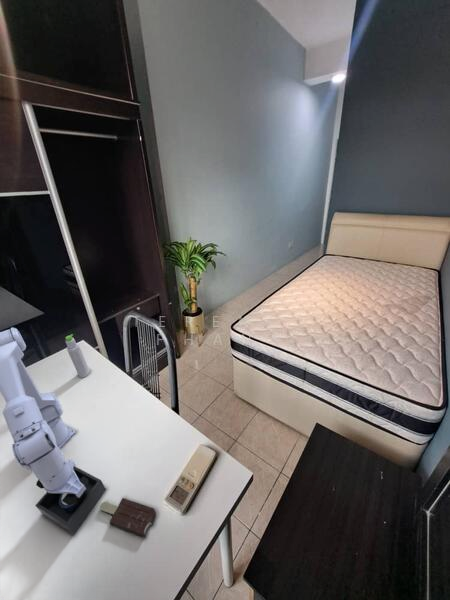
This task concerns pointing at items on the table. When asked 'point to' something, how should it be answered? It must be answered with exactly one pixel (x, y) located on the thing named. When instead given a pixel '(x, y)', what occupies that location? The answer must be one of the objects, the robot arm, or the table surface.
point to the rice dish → (65, 506)
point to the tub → (76, 517)
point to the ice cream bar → (130, 516)
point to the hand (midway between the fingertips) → (71, 495)
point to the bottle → (77, 357)
